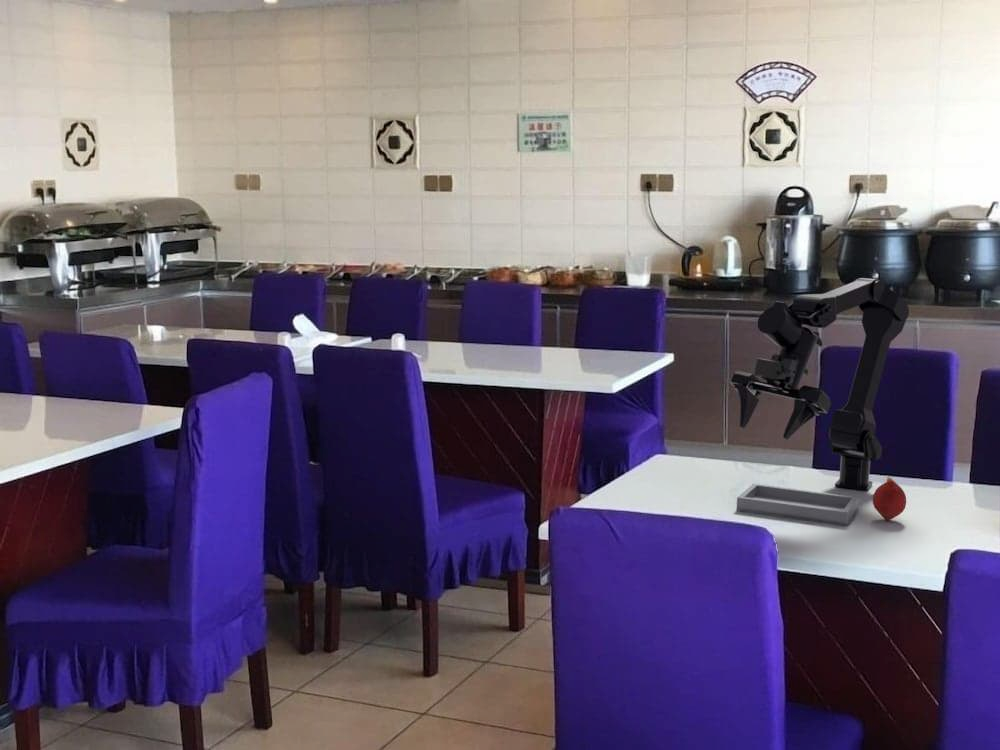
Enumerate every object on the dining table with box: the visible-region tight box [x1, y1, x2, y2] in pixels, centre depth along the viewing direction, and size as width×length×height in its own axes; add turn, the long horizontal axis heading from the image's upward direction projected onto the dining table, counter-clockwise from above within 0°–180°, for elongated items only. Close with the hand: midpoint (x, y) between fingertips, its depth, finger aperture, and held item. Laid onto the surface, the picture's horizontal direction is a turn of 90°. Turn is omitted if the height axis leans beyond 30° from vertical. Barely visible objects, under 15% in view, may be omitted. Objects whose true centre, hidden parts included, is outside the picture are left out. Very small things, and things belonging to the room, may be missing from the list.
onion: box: [872, 476, 907, 521], centre depth 220 cm, size 6×6×8 cm
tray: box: [736, 483, 860, 527], centre depth 225 cm, size 12×20×2 cm, turn 64°
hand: (763, 433), depth 223 cm, fingers open, 9 cm apart
